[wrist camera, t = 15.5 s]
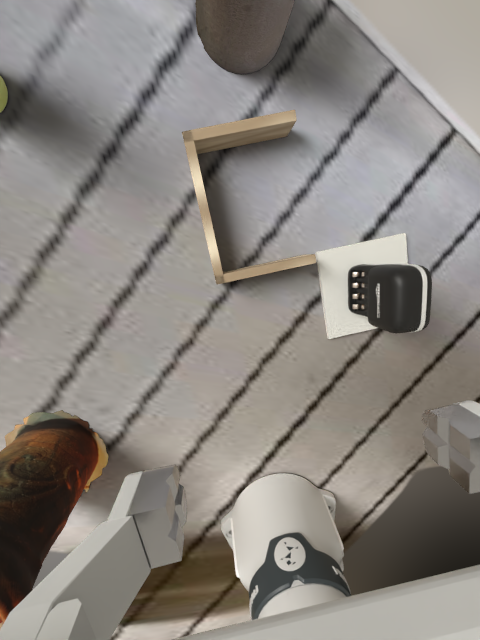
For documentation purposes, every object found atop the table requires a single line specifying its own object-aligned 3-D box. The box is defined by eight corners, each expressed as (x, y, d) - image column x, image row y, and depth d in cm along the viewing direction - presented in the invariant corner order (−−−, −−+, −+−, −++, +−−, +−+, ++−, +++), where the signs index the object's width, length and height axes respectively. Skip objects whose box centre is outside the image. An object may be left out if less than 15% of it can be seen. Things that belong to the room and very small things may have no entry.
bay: (305, 262, 37) (316, 262, 33) (216, 281, 36) (216, 284, 32) (285, 127, 33) (295, 109, 29) (186, 146, 32) (182, 131, 29)
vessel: (17, 504, 41) (-164, 724, 21) (-8, 416, 38) (-244, 577, 18) (117, 491, 42) (32, 689, 22) (100, 404, 39) (-14, 544, 19)
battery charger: (341, 264, 36) (396, 267, 25) (369, 261, 37) (435, 263, 26) (342, 316, 38) (394, 340, 27) (368, 313, 38) (431, 336, 27)
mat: (408, 319, 40) (411, 320, 39) (327, 337, 39) (329, 339, 39) (402, 233, 37) (405, 233, 36) (315, 252, 36) (317, 252, 36)
